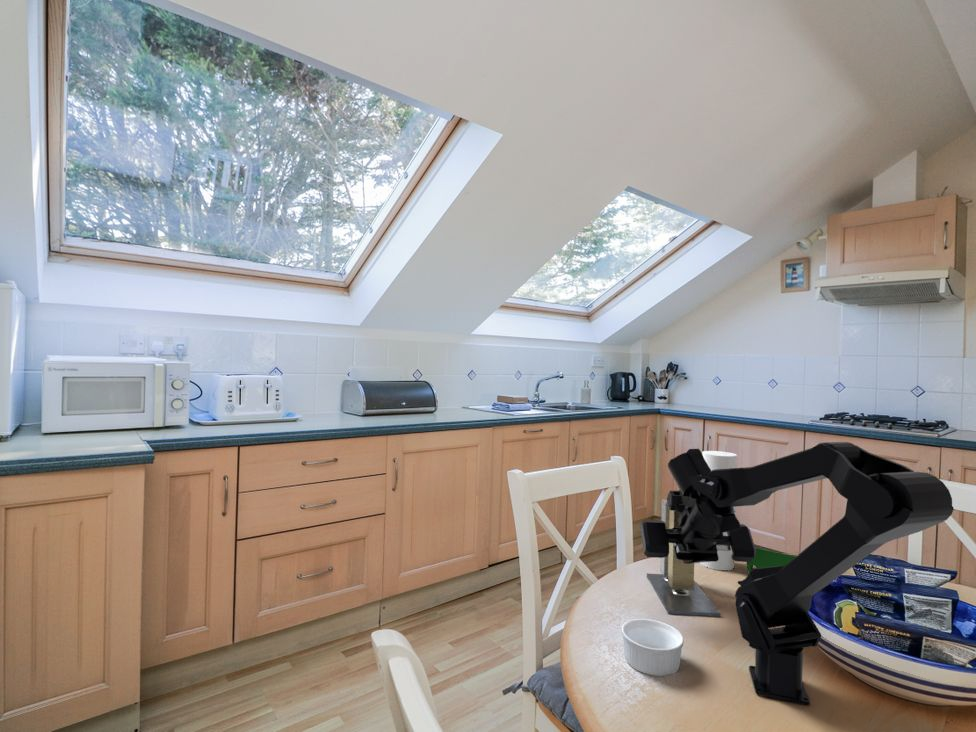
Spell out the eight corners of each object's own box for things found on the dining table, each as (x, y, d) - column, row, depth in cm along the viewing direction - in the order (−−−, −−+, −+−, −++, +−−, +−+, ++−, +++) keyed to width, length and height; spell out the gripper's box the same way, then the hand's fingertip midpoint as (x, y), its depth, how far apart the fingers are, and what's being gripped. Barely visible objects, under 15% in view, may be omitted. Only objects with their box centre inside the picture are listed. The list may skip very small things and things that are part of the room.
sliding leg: (693, 593, 99) (695, 511, 99) (672, 592, 99) (674, 510, 99) (688, 587, 102) (690, 507, 102) (667, 586, 102) (669, 506, 102)
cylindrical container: (702, 568, 114) (705, 455, 114) (697, 556, 121) (699, 450, 121) (737, 572, 112) (740, 457, 112) (730, 560, 119) (733, 452, 119)
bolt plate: (720, 616, 92) (722, 523, 92) (668, 613, 92) (670, 521, 92) (690, 578, 108) (692, 499, 108) (646, 576, 109) (648, 497, 109)
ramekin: (684, 653, 80) (684, 625, 80) (682, 686, 72) (682, 655, 72) (625, 640, 83) (625, 613, 83) (616, 670, 75) (617, 640, 75)
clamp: (797, 600, 109) (819, 563, 109) (794, 603, 105) (817, 564, 104) (742, 564, 117) (762, 529, 116) (736, 565, 112) (757, 529, 112)
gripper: (750, 480, 92) (725, 524, 103) (643, 476, 93) (629, 519, 104) (770, 539, 84) (740, 580, 95) (653, 534, 85) (637, 574, 96)
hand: (685, 561), depth 98 cm, fingers closed
